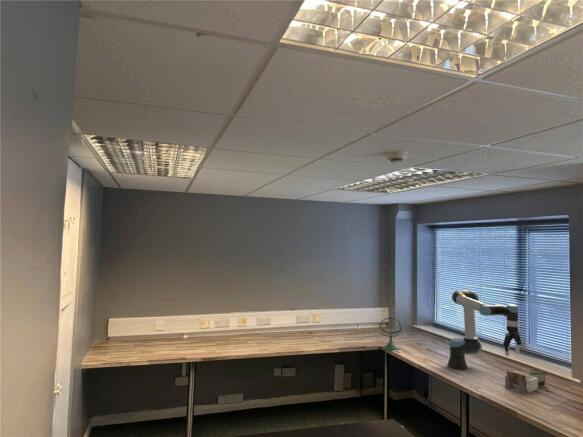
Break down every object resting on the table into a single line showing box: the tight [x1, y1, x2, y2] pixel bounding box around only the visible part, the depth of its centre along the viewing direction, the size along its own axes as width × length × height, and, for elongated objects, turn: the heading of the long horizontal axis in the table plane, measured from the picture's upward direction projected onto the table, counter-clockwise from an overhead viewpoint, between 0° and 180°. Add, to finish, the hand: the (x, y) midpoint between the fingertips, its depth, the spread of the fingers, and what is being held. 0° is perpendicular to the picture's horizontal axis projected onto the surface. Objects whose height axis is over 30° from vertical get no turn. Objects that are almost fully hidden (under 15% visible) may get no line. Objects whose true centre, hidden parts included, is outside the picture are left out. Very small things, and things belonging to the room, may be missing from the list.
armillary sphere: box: [379, 312, 403, 352], centre depth 367 cm, size 22×26×35 cm
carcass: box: [504, 370, 539, 393], centre depth 273 cm, size 16×17×8 cm
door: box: [506, 369, 526, 387], centre depth 270 cm, size 12×2×8 cm, turn 31°
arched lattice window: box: [528, 369, 547, 387], centre depth 280 cm, size 12×6×10 cm, turn 92°
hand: (512, 354), depth 276 cm, fingers open, 13 cm apart
